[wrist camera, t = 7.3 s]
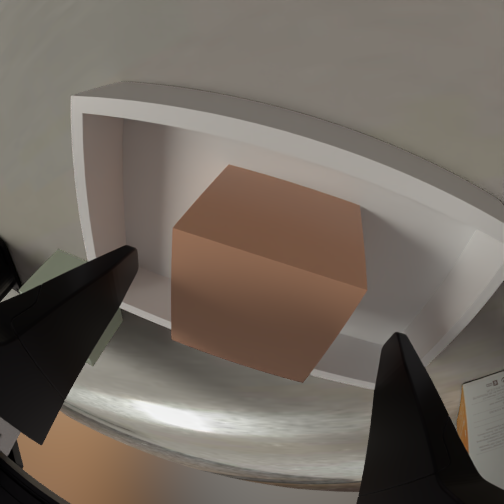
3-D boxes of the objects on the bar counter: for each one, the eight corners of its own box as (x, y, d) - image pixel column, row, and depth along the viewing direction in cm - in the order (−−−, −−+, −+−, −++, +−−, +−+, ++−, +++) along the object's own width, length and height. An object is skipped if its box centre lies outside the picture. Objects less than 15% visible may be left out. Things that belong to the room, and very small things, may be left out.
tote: (392, 348, 15) (394, 393, 13) (125, 261, 16) (96, 296, 14) (498, 198, 9) (531, 240, 7) (121, 81, 10) (70, 95, 8)
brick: (316, 297, 14) (302, 383, 10) (212, 264, 14) (171, 339, 10) (359, 205, 10) (367, 290, 7) (228, 164, 11) (172, 227, 7)
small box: (460, 382, 16) (459, 556, 6) (533, 357, 13) (552, 522, 3) (454, 421, 19) (449, 549, 9) (513, 402, 16) (519, 528, 6)
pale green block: (123, 320, 21) (93, 366, 17) (73, 295, 21) (42, 335, 17) (114, 271, 17) (73, 323, 14) (59, 248, 18) (18, 289, 14)
